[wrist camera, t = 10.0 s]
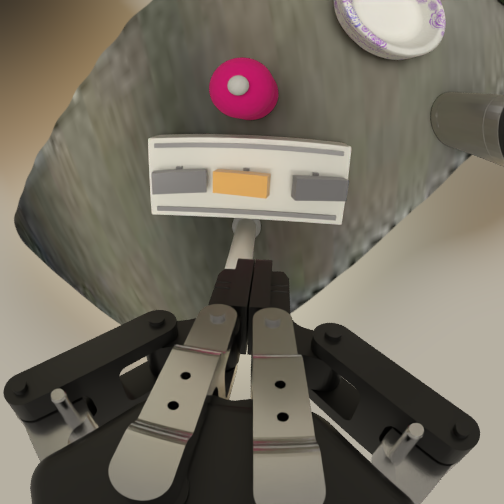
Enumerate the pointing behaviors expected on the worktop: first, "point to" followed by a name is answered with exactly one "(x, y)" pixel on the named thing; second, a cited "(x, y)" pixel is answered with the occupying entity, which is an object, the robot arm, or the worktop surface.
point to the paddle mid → (241, 183)
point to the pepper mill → (243, 89)
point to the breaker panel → (254, 160)
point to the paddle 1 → (178, 181)
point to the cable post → (243, 240)
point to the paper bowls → (393, 26)
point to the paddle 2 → (319, 188)
